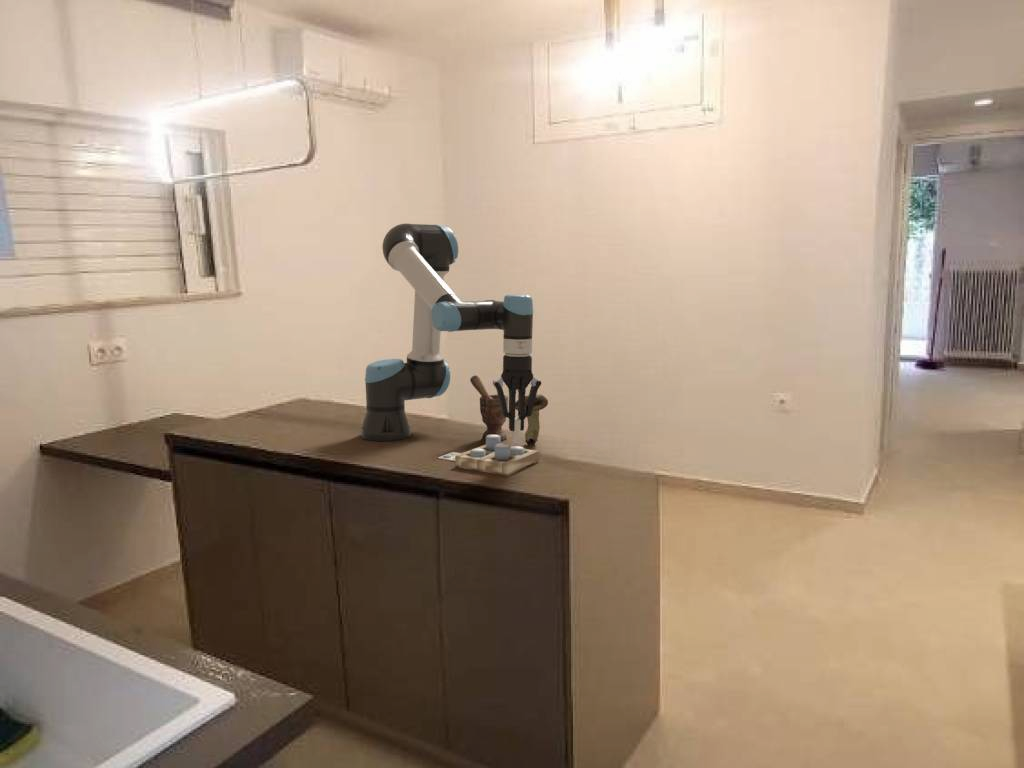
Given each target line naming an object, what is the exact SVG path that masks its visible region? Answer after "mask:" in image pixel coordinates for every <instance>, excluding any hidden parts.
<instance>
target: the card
mask: <svg viewBox="0 0 1024 768" xmlns="http://www.w3.org/2000/svg"><path fill="white" fill-rule="evenodd" d="M462 453H463V452H461V453H460V452H456V451H455V452H454V451H453V452H450V453H449V452H448V453H447V454H444V455H441V456H439V457H437V459H439V460H445V461H450V462H455V456H456V455H459V454H462Z"/></svg>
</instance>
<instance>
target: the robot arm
mask: <svg viewBox="0 0 1024 768" xmlns="http://www.w3.org/2000/svg"><path fill="white" fill-rule="evenodd" d="M381 249H382V253H383V254H382V255H383V257H384V260H385V261H386V262H387V264H388V266H390V268H391V269H392V270H395V271H397V272H399V273H400V274H401V275H402V276H403V278H405V280H406V281H407V282H408V283H409V284H410V286H411V287H412V288H413V289H414V300H413V301H414V305H413V322H412V323H413V325H412V326H413V327H412V343H411V344H412V347H411V351H410V352H409V353H407V355H406V362H404V360H403V359H401V358H389V359H382V360H380V359H379V360H378V361H377V360H376V361H374V362H371V363H369V364H368V365H367V366H366V368H365V377H364V382H365V406H366V412H365V415H364V419H363V423H362V427H361V429H360V435H361V438H362V439H364V440H366V441H367V440H368V441H373V442H375V441H376V442H377V441H378V442H386V441H388V442H390V441H399V440H403V439H404V440H405V439H407V438H409V437H410V436H411V435H412V433H411V432H412V431H411V430H412V428H411V426H410V425H409V420H408V418H407V414H406V411H405V410H406V409H405V406H406V405H405V401H412V400H419V399H431V398H434V397H440V396H442V395H444V394H445V393H446V392H447V389H448V388H449V386H450V383H451V370H450V366H449V364H448V363H447V361H445V360H444V359H445V357H444V355H442V353H441V352H440V348H441V347H440V346H441V345H440V344H441V332H448V333H449V332H450V333H452V332H461V331H480V330H482V331H483V330H501V331H503V344H502V345H503V346H502V347H503V348H502V352H503V353H504V355H502V356H503V357H502V373H501V375H500V378H498V379H497V380H493V381H492V385H493V387H494V388H495V389H496V393H497V394H496V395H498V398H499V402H500V407H501V411H502V415H503V416H504V417H506V419H508V429H509V431H510V432H511V433H512V434H511V435H512V437H511V439H512V441H511V442H512V443H513V444H514V445H520V444H521V431H522V432H523V431H524V430H525V420H526V418H527V417H528V416H531V414H532V410H533V406H534V402H535V398H536V395H537V394H538V390H539V388H540V387H541V385H542V381H541V380H539V379H538V378H535V377H534V374H533V371H532V369H533V368H532V366H533V365H532V362H533V357H532V355H531V354H532V353H533V324H534V323H533V322H534V319H533V317H534V307H533V306H534V305H533V298H532V296H530V295H527V294H507V295H504V298H503V301H500V300H499V301H498V300H494V299H486V300H481V301H480V300H479V301H463V300H461V298H459V296H458V295H457V294H455V292H454V291H453V290H452V289H451V288H450V286H449V285H448V284H447V283H446V281H444V280H445V279H444V278H445V275H447V274H448V273H449V272H450V266H451V265H453V264H454V263H455V262H456V261H457V259H458V257H459V256H458V255H459V244H458V239H457V236H456V235H455V233H454V231H453V230H452V229H451V228H450V227H448V226H445V225H438V224H426V223H425V224H423V223H420V224H418V223H416V224H415V223H400V224H396V225H395V226H393V227H392V228H390V229H389V230H388V232H386V234H385V236H384V239H383V241H382V248H381ZM503 383H504V384H503ZM504 385H505V386H506V388H507V389H508V410H507V405H506V401H505V397H504V395H505V394H504V389H503V388H504ZM529 385H531V387H530V390H529V393H528V395H529V397H528V401H527V405H526V409H525V396H526V390H527V388H528V386H529ZM517 392H518V393H517ZM516 394H517V397H518V398H517V400H518V410H517V416H518V417H516V409H515V402H516V401H517V400H516Z"/></svg>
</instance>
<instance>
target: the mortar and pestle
mask: <svg viewBox="0 0 1024 768" xmlns="http://www.w3.org/2000/svg"><path fill="white" fill-rule="evenodd" d="M469 381H470V383H471V385H472V386H473V388H474V389H475V390H476V391H477V392H478V393H479V394H480V397H479V410H480V411H479V412H480V414H481V415H480V416H481V421H482V422H483V424H484V425H486V430H485V431H484V432H483V433H482V440H484V441H486V436H487V435H499V436H501V441H504V440H506V439H507V433H506V432H505V431H504V430H503V429H502V426H503V425H504V424H505V422H506V421H507V417H504V416H503V415H502V411H501V407H500V402H499V398H498V394H489V393H488V391H487V389H486V386H485V385H484V383H483V381H482V380H481V378H480V377H479V376H478V375H476V374H475V375H473V376H471V377H470V379H469ZM504 397H505V401H506V405H507V410H508V411H509V395H505V394H504Z"/></svg>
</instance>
